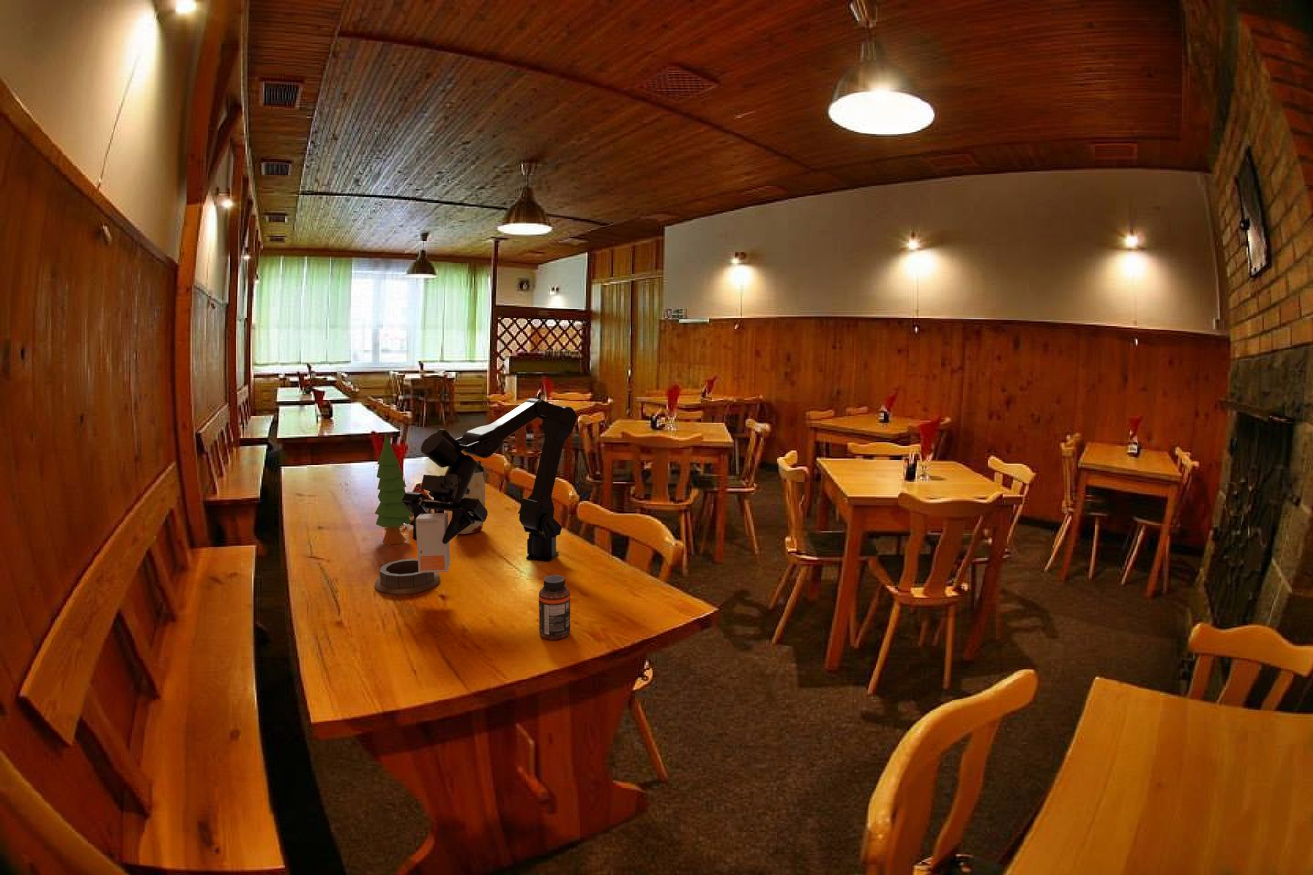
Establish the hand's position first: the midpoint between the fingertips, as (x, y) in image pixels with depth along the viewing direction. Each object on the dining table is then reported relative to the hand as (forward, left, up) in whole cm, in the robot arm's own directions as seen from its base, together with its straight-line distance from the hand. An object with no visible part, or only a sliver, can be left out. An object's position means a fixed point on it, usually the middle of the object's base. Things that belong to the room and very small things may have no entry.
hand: (428, 541), depth 147 cm
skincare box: (0, -1, -7) cm, 7 cm away
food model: (+16, -48, -13) cm, 52 cm away
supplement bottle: (-32, +8, -13) cm, 35 cm away
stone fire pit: (+10, -8, -13) cm, 18 cm away
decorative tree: (+31, -35, -13) cm, 49 cm away
